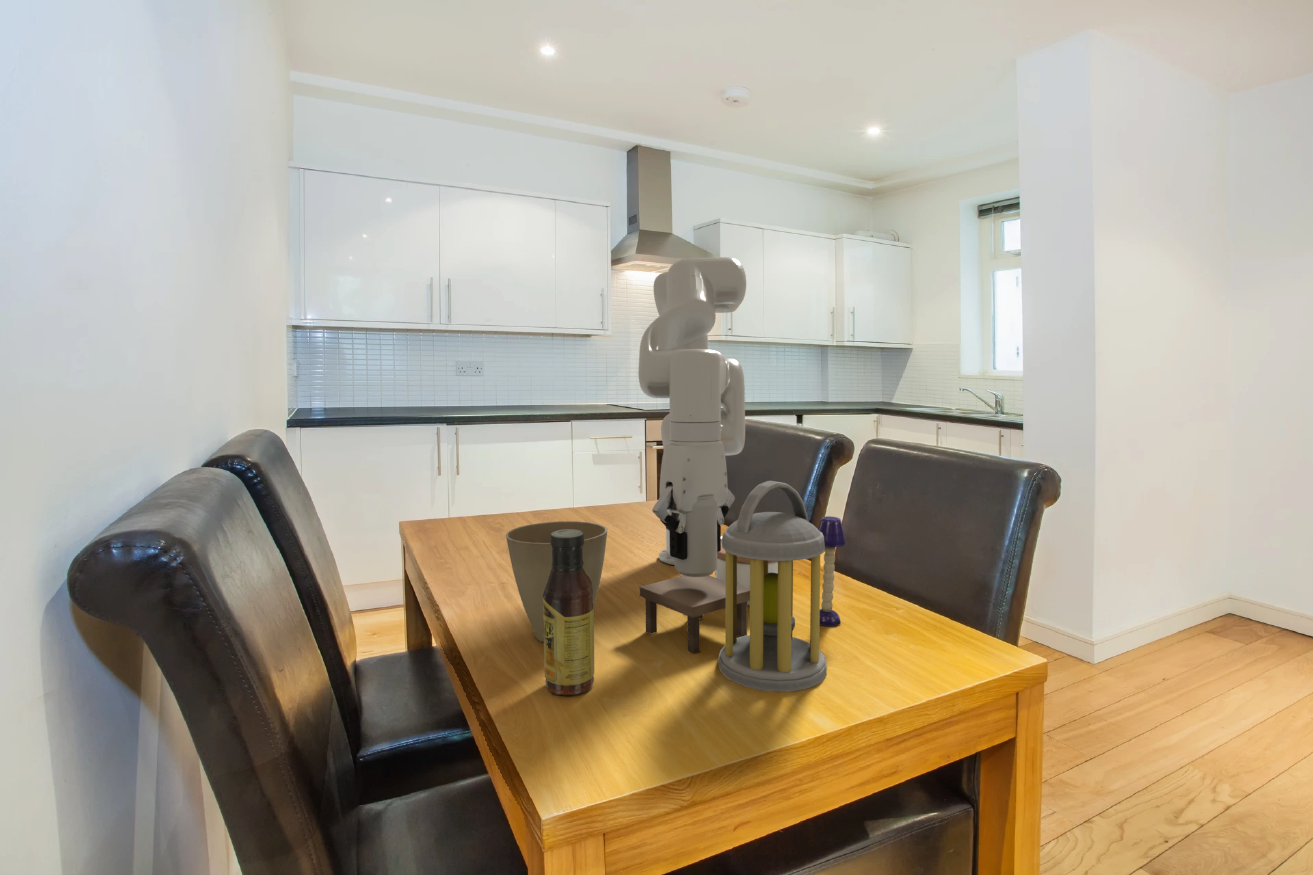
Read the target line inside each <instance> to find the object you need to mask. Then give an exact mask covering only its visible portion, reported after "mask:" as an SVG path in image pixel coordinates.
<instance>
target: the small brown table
mask: <svg viewBox="0 0 1313 875" xmlns="http://www.w3.org/2000/svg"><path fill="white" fill-rule="evenodd" d="M639 597H641V598H643V599H644V600H645V606H644V607H645V633H648V634H649V635H652V634H655V633H657V632H658V626H657V625H658V621H657V618H658V616H657V615H658V614H657V612H658V611H657V610H658V608H657V605H660V606H662V607H665V608H667V609H669V610H672V611H675V612H677V613H679V614H682V615H685V616H686V617H687V652H688V653H690V654H692V655H695V654H697V653H700V651H701V650H700V649H701V648H700V646H701V642H700V641H701V640H700V637H701V636H700V635H701V634H700V632H701V631H700V630H701V629H700V624H701V622H700V621H701V620H700V619H703V618H704V616H705V615H708V614H710V613H714V612H716V611H719V610H723V609H724V610H725V609H726V581H725V580H722V579H718V578H716V576H712V575H709V576H705V577H688V576H683V575H681V576H678V577H672V578H669V579H665V580H661V581H657V582H654V583H650V584H646V585H642V586H639ZM749 600H750V589H749V588H746V587H743V586H740V585H737V637H742V636H748V605H747V601H749Z"/></svg>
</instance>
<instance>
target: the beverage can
mask: <svg viewBox="0 0 1313 875" xmlns="http://www.w3.org/2000/svg"><path fill="white" fill-rule="evenodd" d="M713 497H714V495H711V496H704V497H697V499H698V501H697V502H696V503H695V504H694V505H693V508H692V511H691V512H689V513H687V514H686V515H687V521H686V524H685V528H684V531H683V532H686V533H687V559H685V560H681V559H678V558H675V557H674V562H675V565H674V569H675V571H676V572H678V574H679V575H681V576H688V577H705V576H712V575H713V574H714V573H715V570H716V569H717V502H716V500H715V499H714V498H713ZM675 506H676V504H675ZM676 509H677V507H676ZM678 518H679V514H676V521H678Z"/></svg>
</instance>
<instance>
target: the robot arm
mask: <svg viewBox="0 0 1313 875" xmlns="http://www.w3.org/2000/svg"><path fill="white" fill-rule="evenodd" d="M746 291H747V275H746V271H745V268H744V266H743V265H742V263H741V262H740V261H739V260H738V259H736V258H733V257H726V256H724V257H721V256H720V257H719V256H717V257H687V258H681V259H679V260H677V261H674V263H673V264H672V265H671V266H670V268H669V269H668V271H665V272H662V273H660V274H658V275H657V276H656V277H655V279H654V282H653V297H654V302H655V307H656V310H657V313H658V315H659V316H657V317H656V318H655V319H654V320H653V321H652V322H651V323H650V324H649V325H648V327H647V328H646V329H645V331H644V332H643V335H642V337H641V340H640V345H639V351H638V352H639V355H638V356H639V358H638V371H637V372H638V373H637V374H638V382H639V386H640V389H641V391H642V392H643V393H644V394H645V396H648V397H649V398H653V399H669V413H668V414H667V415H665V416H664V418H663V419H662V421H661V426H660V427H661V428H660V434H661V440H662V448H663V453H662V458H661V466H660V476H659V477H660V479H659V498H658V499H657V501H656V503H655V504H654V506H653V507H652V513H653V514H654V515H655V516H656V517H657V518H658V519H659V520H660V522H661V523H662V525H664V526H665V532H666V533H665V542H666V543H665V548H664V549H662V550H661V551H660V552H659V553H658V554H659V555H658V559H659V560H660V561H661V562H662V563H665V564H668V565H674V566H675V562H674V557H675V558H678V559H681V560H685V559H687V533H686V532H683V531H684V528H685V524H686V521H687V515H686V514H687V513H689V512H691V511H692V508H693V505H694V504H695V503H696V502H697V501H698V499H697V497H704V496H711V495H714V497H713V498H714V499H715V500H716V502H717V552H720V551H721V542H722V536H723V535H722V532H721V531H722V526H723V525H724V523H725V517H726V516H727V514H728V512H729V511H730V510H729V509H730V508H731V507H732V505H733V503H734V501H735V499H736V497H735V495H734V494H733V493H732V491H731V490H730V489H729V488H728V470H727V460H726V456H736V455H739V454H740V453H742V451H743V449H744V447H745V440H746V397H745V394H746V393H745V389H746V388H745V387H746V386H745V375H744V370H743V367H742V365H741V363H740V362H739V361H738V360H736V359H734V358H730V357H725V356H724V355H723V354H722V353H721V352H720V351H718V350H713V349H709V348H708V346H709V336H708V334H709V333H710V332H711V331H712V329H713V328H714V326H715V323H716V314H719V313H722V314H723V313H724V314H725V313H727V314H728V313H733V312H735V311H737V309H738V308H739V307H740V305H741V304H742V303H743V301H744V298H745V296H746ZM721 407H722V408H723V410H722V408H721ZM675 504H676V506H675ZM676 507H677V509H676ZM676 514H679V518H678V521H676Z"/></svg>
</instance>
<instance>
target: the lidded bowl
mask: <svg viewBox="0 0 1313 875" xmlns="http://www.w3.org/2000/svg"><path fill="white" fill-rule="evenodd" d="M768 573H777V574H778V561H770V560H768ZM714 575H715V578H718V579H722V580H725V581H726V551H725V550H724V549H723V548H722V542H721V551H720V552H717V569H716V570H715V571H714ZM737 585H740V586H743V587H746V588H749V589H750V558H744V557H740V556H737ZM747 606H750V600H749V601H747Z"/></svg>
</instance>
